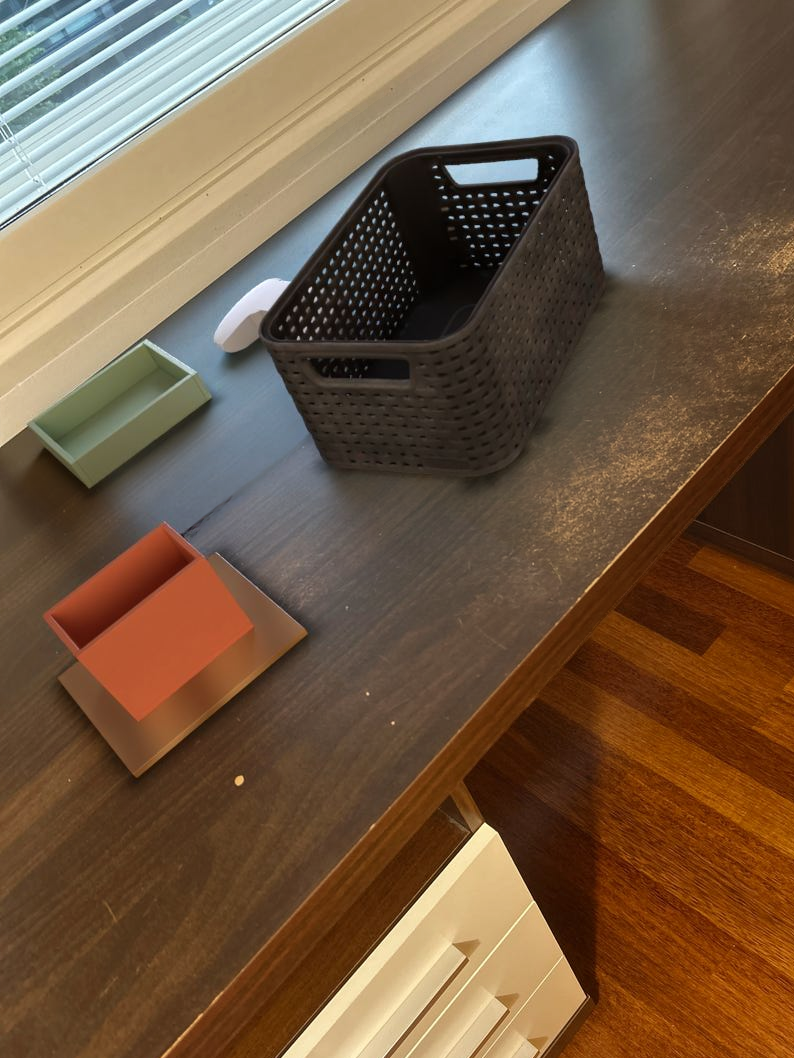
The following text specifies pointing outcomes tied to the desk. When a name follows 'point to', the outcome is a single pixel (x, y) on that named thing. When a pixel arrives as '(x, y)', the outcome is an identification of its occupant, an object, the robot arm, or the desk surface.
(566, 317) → the storage bin
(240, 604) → the metal plate
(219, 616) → the coral bin
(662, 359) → the desk surface
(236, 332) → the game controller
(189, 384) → the green bin
